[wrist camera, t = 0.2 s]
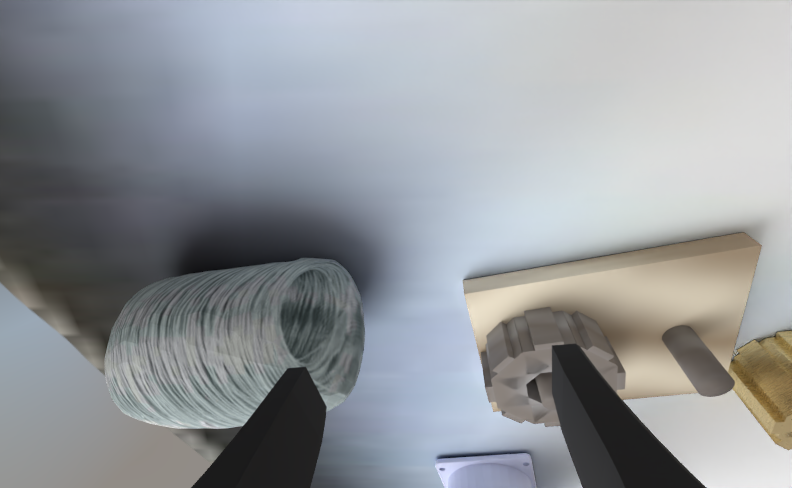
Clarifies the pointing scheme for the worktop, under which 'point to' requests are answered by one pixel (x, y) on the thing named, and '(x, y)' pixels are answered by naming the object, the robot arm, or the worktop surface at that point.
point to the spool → (234, 341)
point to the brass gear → (767, 384)
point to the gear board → (615, 322)
